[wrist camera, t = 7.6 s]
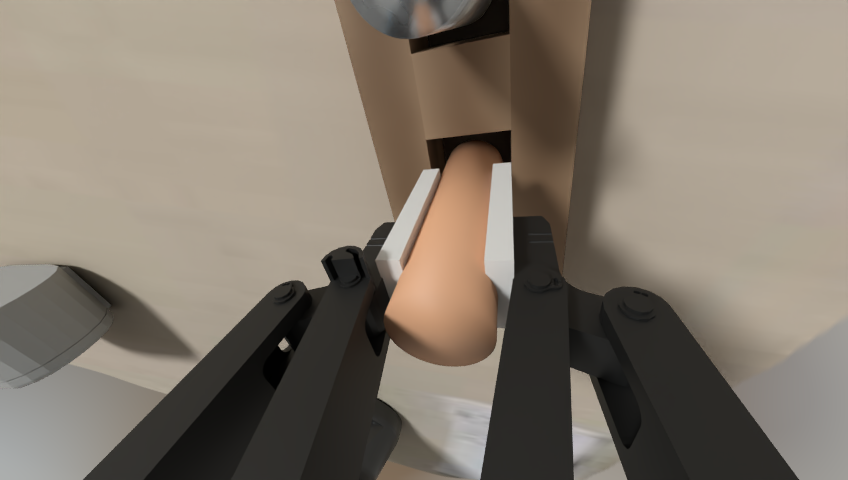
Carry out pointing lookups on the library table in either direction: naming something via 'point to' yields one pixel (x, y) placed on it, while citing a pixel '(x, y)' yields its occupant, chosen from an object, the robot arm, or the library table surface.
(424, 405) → the library table surface
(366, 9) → the grey peg
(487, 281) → the orange rounded rod
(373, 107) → the hole block
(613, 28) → the library table surface
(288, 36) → the library table surface
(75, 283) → the alarm clock
